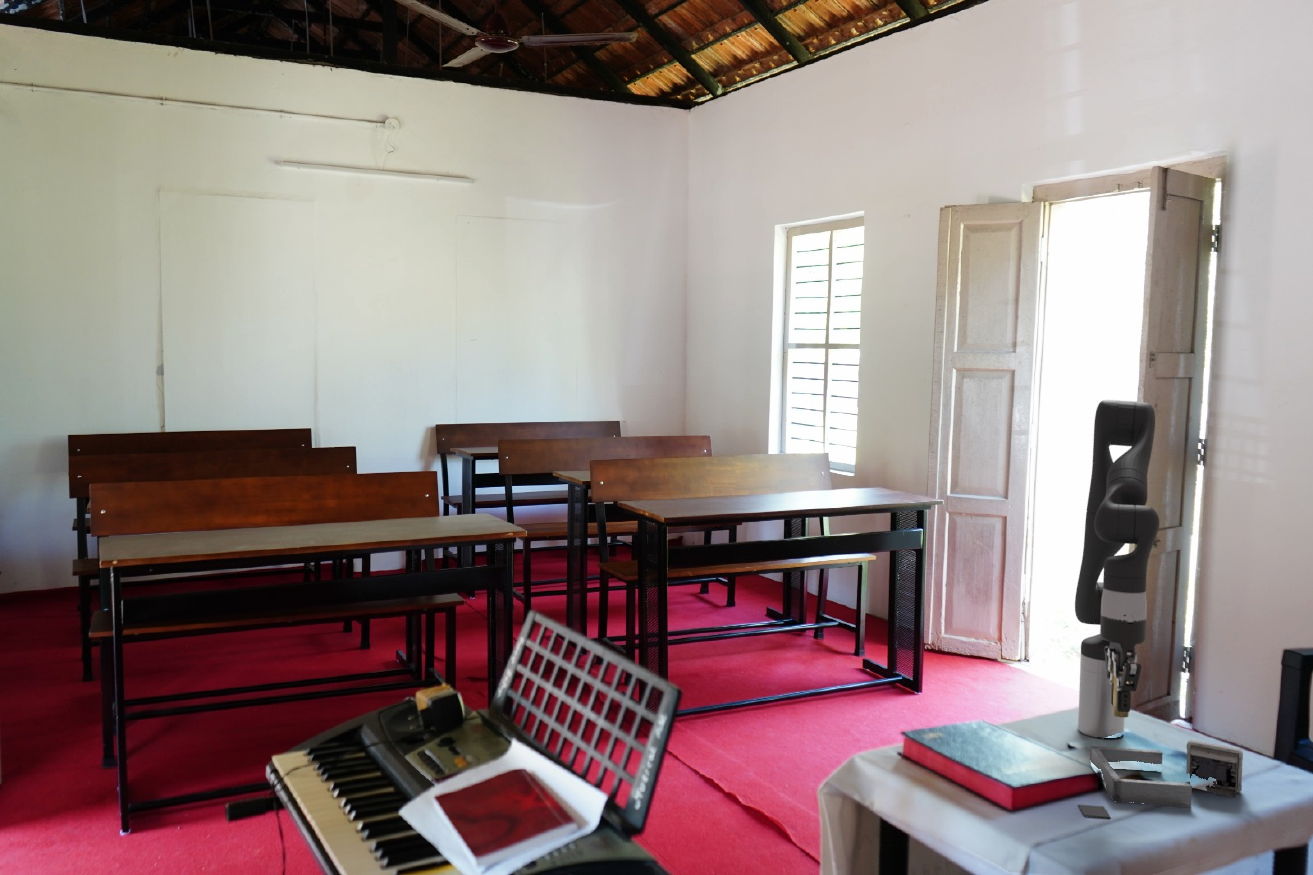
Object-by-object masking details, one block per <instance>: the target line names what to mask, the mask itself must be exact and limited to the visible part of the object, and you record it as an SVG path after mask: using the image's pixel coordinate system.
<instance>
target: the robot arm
mask: <svg viewBox="0 0 1313 875" xmlns="http://www.w3.org/2000/svg"><path fill="white" fill-rule="evenodd" d="M1093 423H1094V425H1093V442H1092V443H1093V445H1092V446H1093V448H1092V449H1093V450H1092V465H1091V466H1092V468H1091V477H1090V484H1089V491H1088V497H1087V498H1088V499H1087V504H1086V505H1087V506H1086V514H1085V522H1084V523H1085V524H1084V525H1085V526H1084V538H1083V539H1084V540H1083V552H1082V558H1081V559H1082V560H1081V564H1080V569H1079V575H1078V581H1077V585H1076V586H1077V587H1076V592H1075V598H1074V599H1075V600H1074V611H1075V616H1076V619H1077V620H1078V621H1079V622H1080V623H1082V624H1086V625H1093V626H1094V625H1096V626H1099V625H1100V626H1099V627H1100V629H1099V630H1100V631H1099V634H1096V635H1092V636H1088V637H1086V638H1084V639H1082V641H1081V644H1080V664H1079V665H1080V668H1079V691H1078V693H1079V694H1078V698H1079V699H1078V720H1077V721H1078V722H1077V723H1078V724H1077V730H1078V731H1079V732H1081V733H1082V734H1084V735H1086V736H1089V737H1092V738H1097V737H1108V736H1112V735H1115V734H1117V733H1122V732H1124V731H1125V717H1117V716H1114V715H1113V692H1114V676H1115V677H1116V678H1117V687H1116V688H1117V699H1116V709H1117V710H1118V711H1119V712H1129V713H1130V711H1131V700H1132V698H1131V695H1132V693H1133V692H1136V691H1137V687H1138V684H1139V680H1140V676H1141V670H1142V665H1141V663H1139V662H1138V654H1137V653H1136V648H1135V646H1137V645H1141V644H1144V643H1145V642H1146V640H1147V618H1148V617H1147V613H1148V612H1147V611H1148V605H1147V603H1148V601H1147V592H1146V591H1147V574H1148V573H1147V572H1148V570H1147V569H1148V563H1149V559H1150V555H1151V551H1152V549H1153V545H1154V543H1155V541H1156V538H1157V535H1158V532H1159V529H1160V517H1159V515H1158V512H1157V511H1156V510H1155V509H1154V508H1153V507H1151V506H1149V505H1147V502H1148V473H1149V472H1148V471H1149V466H1150V461H1151V457H1152V453H1153V445H1154V439H1155V430H1156V412H1155V410H1154V407H1153V405H1152V404H1150V403H1148V402H1144V401H1132V400H1121V399H1120V400H1118V399H1117V400H1115V399H1103V400H1101V401H1100V402H1099V403H1098V404H1097V407H1096V411H1095V416H1094V422H1093ZM1110 446H1122V447H1130V448H1129V449H1128V450H1126V451H1125V452H1124V453H1123V454H1121V455H1120V456H1119V457H1118V458H1117V459H1115V460H1114V461H1113V458H1112V455H1111V450H1110ZM1126 544H1129V545H1130V544H1131V545H1136V546H1135V549H1133V550H1132V551H1131V552H1129V553H1126V554H1120V555H1119V554H1118V552H1119V551H1120V550H1121V549H1122V548H1123V547H1124V546H1125V545H1126ZM1116 554H1118V555H1116ZM1102 572H1103V582H1101V581H1100V582H1099V578H1100V575H1101V574H1102ZM1127 681H1128V684H1126V682H1127Z"/></svg>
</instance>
